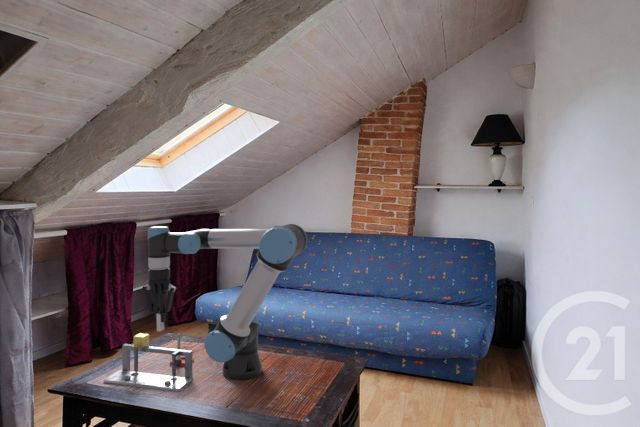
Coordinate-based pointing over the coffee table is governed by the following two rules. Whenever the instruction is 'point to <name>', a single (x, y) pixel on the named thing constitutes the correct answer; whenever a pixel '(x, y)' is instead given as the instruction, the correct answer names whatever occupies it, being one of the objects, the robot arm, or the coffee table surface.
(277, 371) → the coffee table surface
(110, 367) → the coffee table surface
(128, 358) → the dividers beam
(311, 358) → the coffee table surface
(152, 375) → the flange plate
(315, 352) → the coffee table surface
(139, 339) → the slider block
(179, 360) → the tow hook
